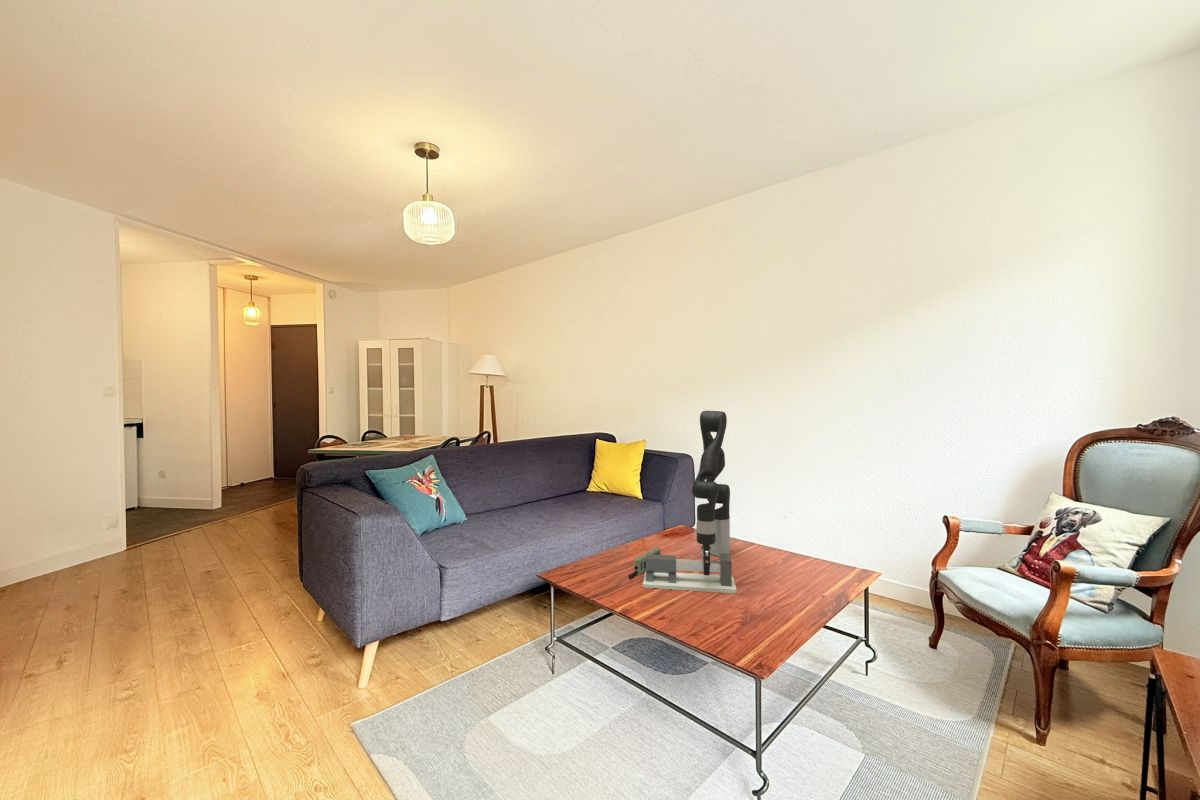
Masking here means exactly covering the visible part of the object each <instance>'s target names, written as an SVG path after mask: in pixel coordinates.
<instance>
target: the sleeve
mask: <svg viewBox="0 0 1200 800" xmlns="http://www.w3.org/2000/svg"><path fill="white" fill-rule="evenodd" d="M676 559H677V555H668V554H660V555H653V554H647V556H646V571H645V572H646V581H649V582H653V581H654V575H655V572H656V573H668V583H676V573H677V570H676Z"/></svg>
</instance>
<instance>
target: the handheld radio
mask: <svg viewBox="0 0 1200 800" xmlns="http://www.w3.org/2000/svg"><path fill="white" fill-rule="evenodd" d="M647 554H653V555H661V548H660V547H655V548H653V549H651V550H649V551H647V552H646V553H644V554H642V555H640V556H639V557H637V558H635V559H634V561H633V562H634V567H633V568H634V572H632V573H631V574H628V578H629V579H632V578H633V577H635V576H636V574H637V576H640V575H642V574H645V572H646V556H647Z"/></svg>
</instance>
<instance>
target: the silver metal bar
mask: <svg viewBox="0 0 1200 800" xmlns="http://www.w3.org/2000/svg"><path fill="white" fill-rule="evenodd" d="M705 563H709V562H708V560H705ZM703 564H704V563H703V560H702V559H687V558H676V571H683V572H684V571H685V572H702V573H704V565H703ZM710 573H719V574H720V573H721V563H720V560H710Z"/></svg>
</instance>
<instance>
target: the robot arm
mask: <svg viewBox="0 0 1200 800" xmlns="http://www.w3.org/2000/svg"><path fill="white" fill-rule="evenodd" d="M727 419H728V418H727V414H726V412H725V411H722V410H720V411H719V410H702V411H701V413H700V415H699V425H700V426H699V427H700V433H701V437H702V447H703V452H702V455H701V457H700V462H699V470H698V472H697V476H696V477H695V479H694V481H693V484H692V487H691V492H692V493H691V494H692V495H693V497H694V498H696V499H703V500H707V502H706V503H701V504H698V505H697V507H696V527H695V528H696V535H695V536H696V542H697V544H700V551H701V552H700V553H701V560H703V563H704V564H703V565H704V572H703V574H704V575H707V576H709V575H710V574H711V572H710V561H712V556H715V557H720V553H721V554H730V555H731V547H730V546H731V542H730V541H731V537H730V536H731V531H730V527H731V526H730V519H731V518H730V517H731V515H730V501H731V500H730V499H731V489H730V486H729V485H728V484H725V483H724V484H723V483H717V482H715V480H716V479H717V478H718V476H719V475H721V473H722V472H723V470H724V468H725V466H726V457H725V451H724V449H723V448H722V445H723V442H724V439H725V434H726V429H727V424H728V423H727ZM712 433H716V435H715V437H713V434H712ZM716 504H719V505H721V506H720V507H718V508H716ZM705 560H708V562H709V563H705Z"/></svg>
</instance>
